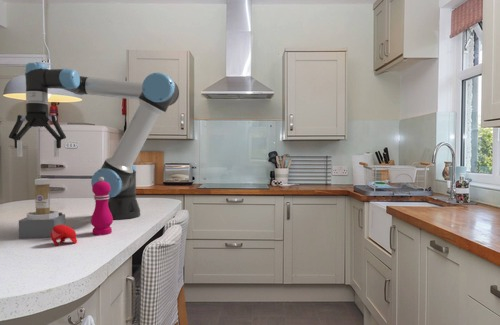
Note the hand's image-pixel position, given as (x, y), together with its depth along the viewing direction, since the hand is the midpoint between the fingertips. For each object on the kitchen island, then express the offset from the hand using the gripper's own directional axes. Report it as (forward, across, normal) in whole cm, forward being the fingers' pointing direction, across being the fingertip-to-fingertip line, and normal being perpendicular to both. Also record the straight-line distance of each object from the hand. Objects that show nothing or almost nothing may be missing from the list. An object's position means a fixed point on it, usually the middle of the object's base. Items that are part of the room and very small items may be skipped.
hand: (38, 156), depth 143 cm
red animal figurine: (+27, +21, -35) cm, 49 cm away
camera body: (+27, +10, -21) cm, 35 cm away
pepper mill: (+27, +30, -22) cm, 46 cm away
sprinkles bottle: (+21, +10, -21) cm, 31 cm away
